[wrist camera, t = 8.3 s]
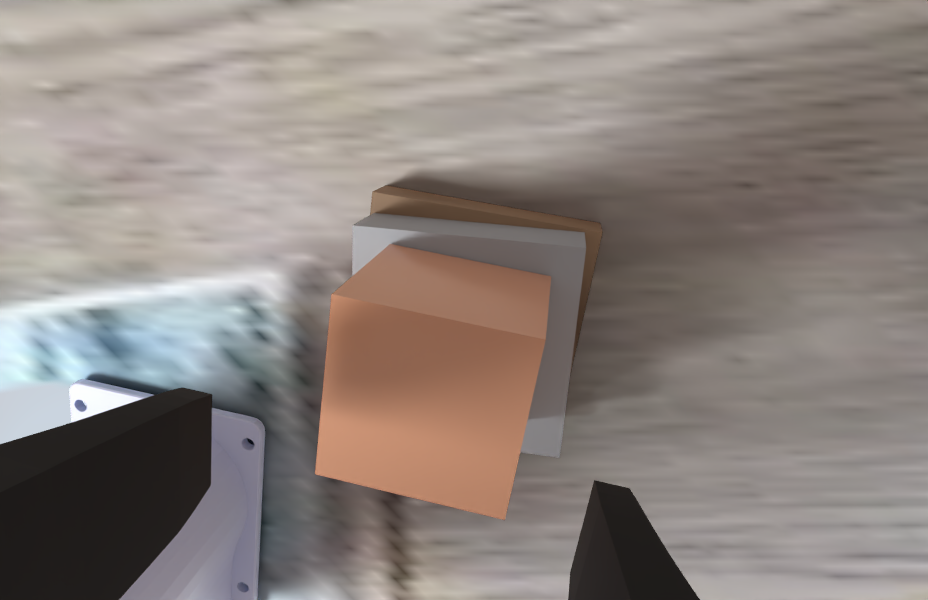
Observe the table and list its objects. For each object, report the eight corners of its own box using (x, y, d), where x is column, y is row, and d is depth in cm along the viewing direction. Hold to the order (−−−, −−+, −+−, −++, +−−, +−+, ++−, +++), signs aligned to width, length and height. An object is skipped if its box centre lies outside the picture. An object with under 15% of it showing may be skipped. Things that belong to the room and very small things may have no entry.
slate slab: (560, 424, 20) (559, 458, 18) (371, 399, 21) (352, 428, 19) (584, 232, 18) (586, 247, 16) (374, 212, 19) (352, 225, 17)
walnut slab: (557, 409, 22) (556, 438, 20) (370, 370, 23) (352, 394, 21) (599, 219, 20) (602, 232, 18) (390, 183, 21) (372, 191, 19)
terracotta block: (519, 420, 18) (504, 519, 14) (372, 386, 19) (315, 474, 14) (551, 276, 17) (545, 339, 12) (390, 243, 17) (331, 293, 13)
